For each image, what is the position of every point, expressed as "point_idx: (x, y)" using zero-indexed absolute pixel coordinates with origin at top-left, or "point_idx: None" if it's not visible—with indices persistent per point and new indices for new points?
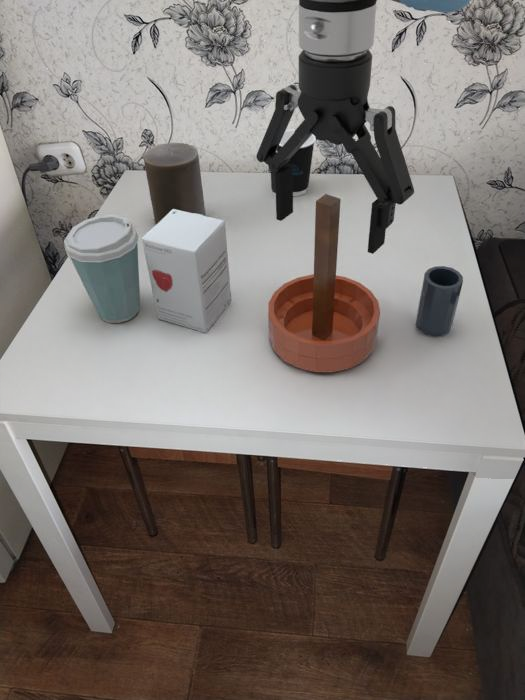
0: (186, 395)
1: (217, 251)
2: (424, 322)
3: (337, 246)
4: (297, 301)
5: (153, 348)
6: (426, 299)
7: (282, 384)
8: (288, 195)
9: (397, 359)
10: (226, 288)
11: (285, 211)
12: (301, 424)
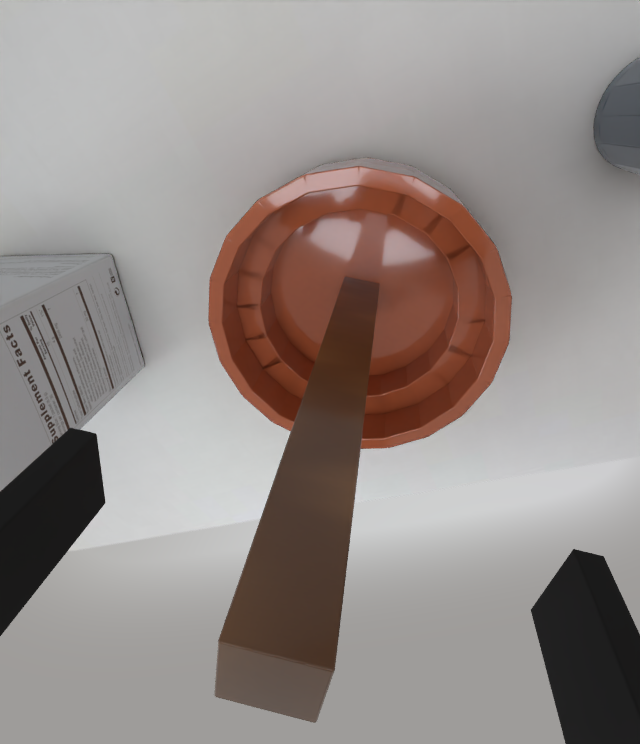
0: (217, 486)
1: (3, 382)
2: (635, 171)
3: (361, 439)
4: (264, 267)
5: (102, 425)
6: None
7: None
8: (23, 542)
9: (551, 292)
10: (89, 291)
11: (82, 502)
12: (404, 485)
